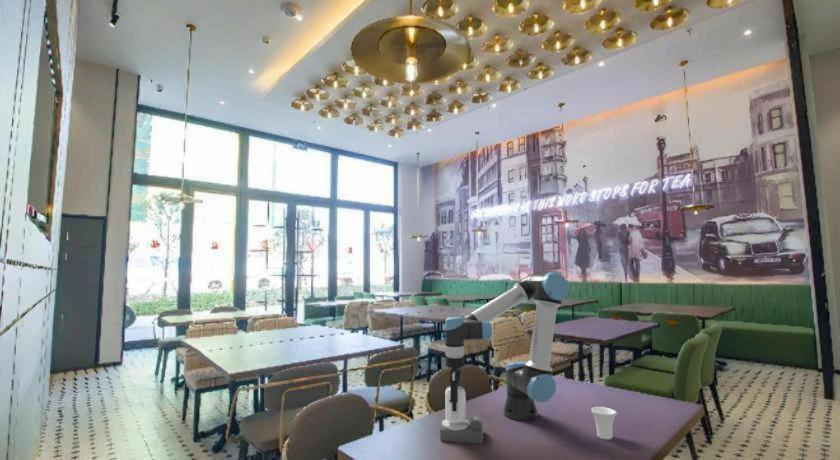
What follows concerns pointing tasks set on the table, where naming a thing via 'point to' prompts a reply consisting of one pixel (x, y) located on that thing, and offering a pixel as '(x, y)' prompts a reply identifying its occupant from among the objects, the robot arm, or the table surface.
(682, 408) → the table surface
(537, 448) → the table surface
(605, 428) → the cup
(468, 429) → the grey hot plate stirrer
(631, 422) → the table surface
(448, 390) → the beverage can
